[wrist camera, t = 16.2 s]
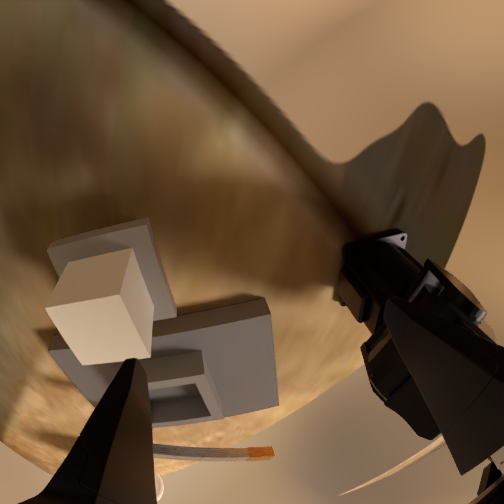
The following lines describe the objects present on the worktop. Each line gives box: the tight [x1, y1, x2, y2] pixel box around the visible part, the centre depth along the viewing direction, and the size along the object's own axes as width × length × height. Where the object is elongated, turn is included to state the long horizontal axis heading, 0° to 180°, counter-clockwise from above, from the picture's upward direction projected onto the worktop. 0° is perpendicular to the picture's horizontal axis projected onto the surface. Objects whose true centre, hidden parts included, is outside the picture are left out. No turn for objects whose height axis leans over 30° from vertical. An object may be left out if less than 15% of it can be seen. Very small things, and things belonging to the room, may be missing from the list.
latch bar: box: [153, 444, 274, 461], centre depth 25 cm, size 19×2×1 cm, turn 67°
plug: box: [45, 217, 177, 365], centre depth 16 cm, size 7×7×8 cm
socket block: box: [48, 298, 279, 428], centre depth 25 cm, size 20×15×6 cm
